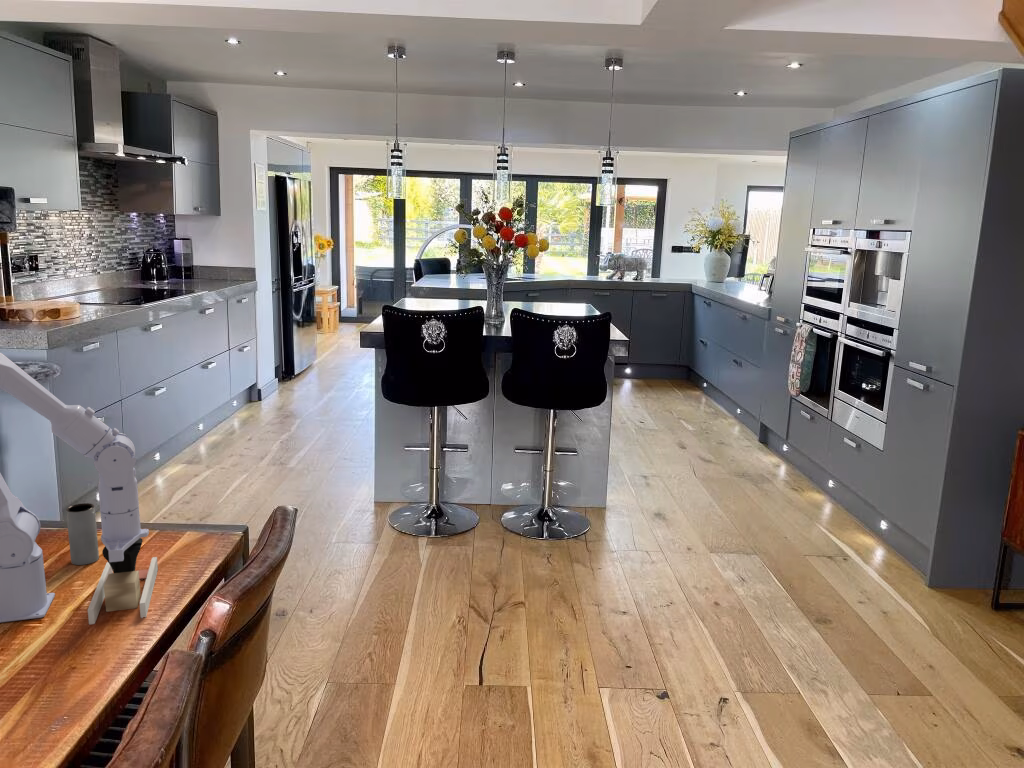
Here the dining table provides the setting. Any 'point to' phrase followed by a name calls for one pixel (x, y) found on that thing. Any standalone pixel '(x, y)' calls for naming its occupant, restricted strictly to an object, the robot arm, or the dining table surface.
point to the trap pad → (143, 574)
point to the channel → (145, 597)
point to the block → (122, 591)
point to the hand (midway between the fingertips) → (125, 584)
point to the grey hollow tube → (82, 533)
